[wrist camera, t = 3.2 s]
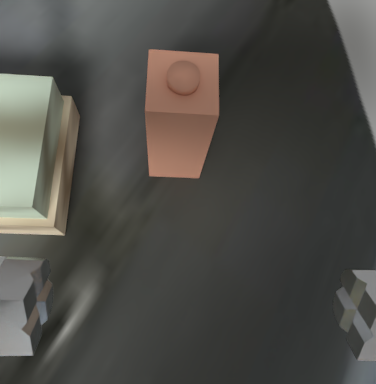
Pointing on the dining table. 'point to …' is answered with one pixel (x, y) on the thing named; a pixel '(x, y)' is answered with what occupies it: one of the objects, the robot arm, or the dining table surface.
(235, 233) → the dining table surface
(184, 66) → the brick
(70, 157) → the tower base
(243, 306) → the dining table surface
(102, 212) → the dining table surface
